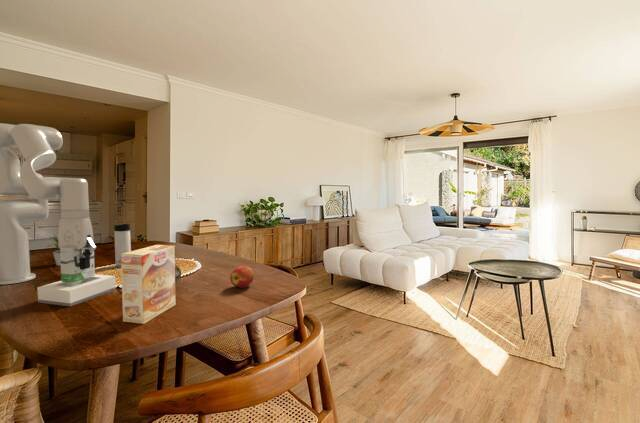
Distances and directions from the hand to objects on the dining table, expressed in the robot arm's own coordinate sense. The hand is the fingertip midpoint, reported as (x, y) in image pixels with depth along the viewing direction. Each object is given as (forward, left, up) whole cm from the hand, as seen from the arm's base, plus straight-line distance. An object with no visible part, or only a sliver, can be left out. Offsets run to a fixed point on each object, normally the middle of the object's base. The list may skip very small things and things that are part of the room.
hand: (78, 267), depth 110 cm
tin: (+18, +17, -10) cm, 27 cm away
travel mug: (-18, +37, -10) cm, 42 cm away
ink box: (0, 0, -4) cm, 4 cm away
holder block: (0, 0, -10) cm, 10 cm away
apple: (+49, +24, -10) cm, 55 cm away
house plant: (-48, +31, -10) cm, 58 cm away
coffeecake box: (+34, -6, -10) cm, 36 cm away
